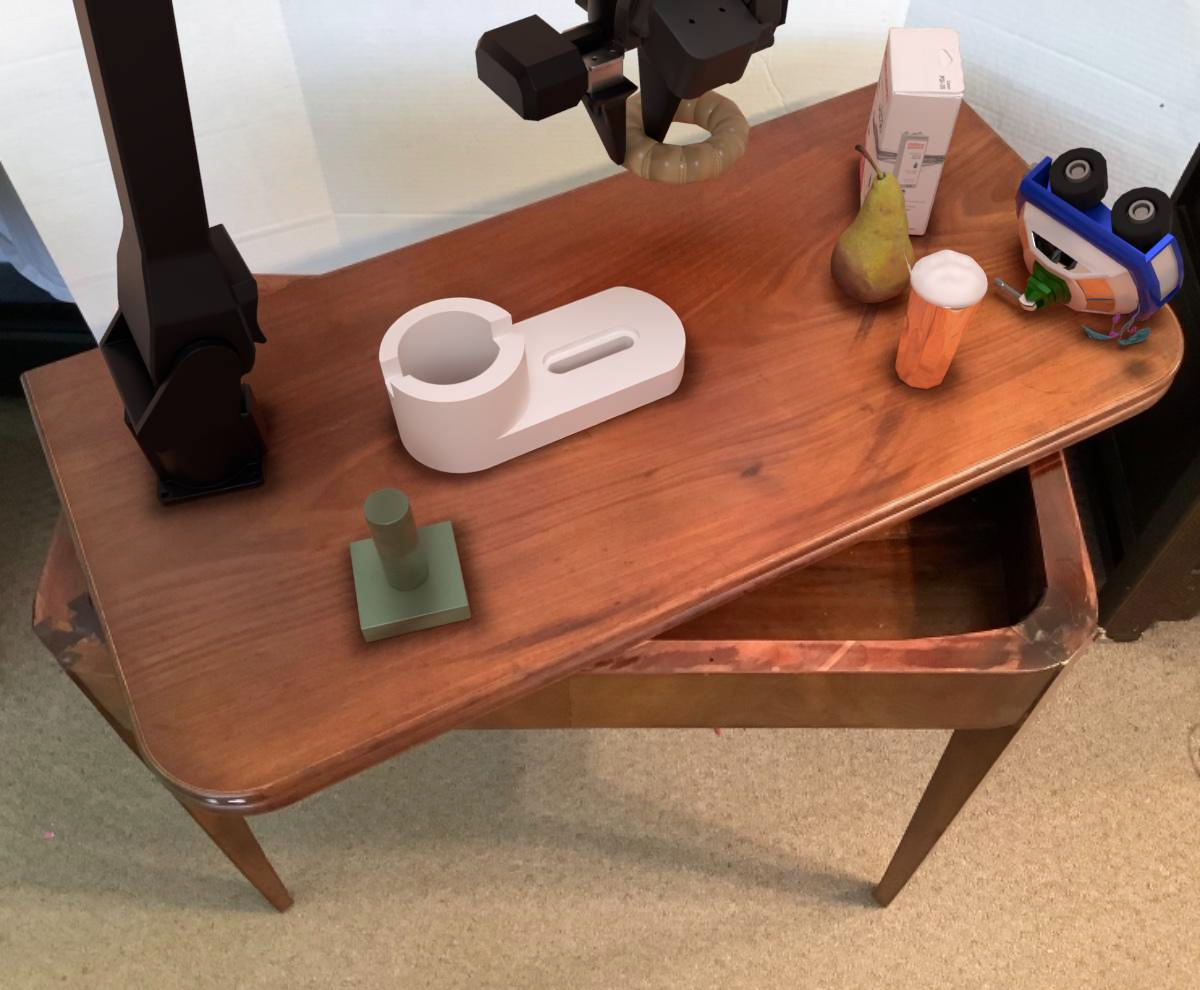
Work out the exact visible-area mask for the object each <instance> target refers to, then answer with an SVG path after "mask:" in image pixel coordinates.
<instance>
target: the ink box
mask: <svg viewBox="0 0 1200 990" xmlns="http://www.w3.org/2000/svg"><path fill="white" fill-rule="evenodd" d="M962 61H963V59H962V54H961V44H960V36H959V32H958V30H956V29H954V28H949V27H948V28H945V27H941V28H940V27H897V26H896V27H893V26H892V27H890V28H889V29H888V34H887V39H886V44H885V48H884V53H883V58H882V62H881V66H880V71H879V76H878V81H877V85H876V89H875V94H874V99H873V104H872V107H871V108H872V109H871V113H870V117H869V121H868V125H867V130H866V134H865V139H864V144H863V147H864V148H865V149H866V150H867V152H868V153H869V155H870V156H871V158H872V160H873V161H874V163H875V164H876V165H877V167H878V168H879V169H880V170H881V171H882V172H884V171H885V172H888V173H890V174H892V175H893V176H894V177H895V178H896V179H897V180H898V182H899V184H900V187H901V189H902V192H903V195H904V199H905V207H906V213H907V219H908V233H909V235H914V236H915V235H916V236H924V235H925V233H926V230H927V227H928V224H929V220H930V217H931V212H932V209H933V205H934V201H935V198H936V195H937V190H938V187H939V184H940V179H941V176H942V172H943V168H944V166H945V165H944V164H945V161H946V157H947V154H948V151H949V146H950V144H951V139H952V136H953V133H954V129H955V126H956V122H957V119H958V115H959V112H960V109H961V104H962V101H963V98H964V91H965V82H964V79H965V77H964V70H963V66H962V63H963V62H962ZM876 175H877V173H876V171H875V170H874V168H873V167H872V165H871V164H870V163H869V161H868V160H867V159H866V158H865V157H864V156H863V155H862V154H861V157H860V162H859V186H860V187H859V189H860V191H859V192H860V208H861V207H862V205H863V202H864V199H865V197H866V194H867V192H868V190H869V189H870V187H871V185H872V183H873V180H874V178H875V177H876Z"/></svg>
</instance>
